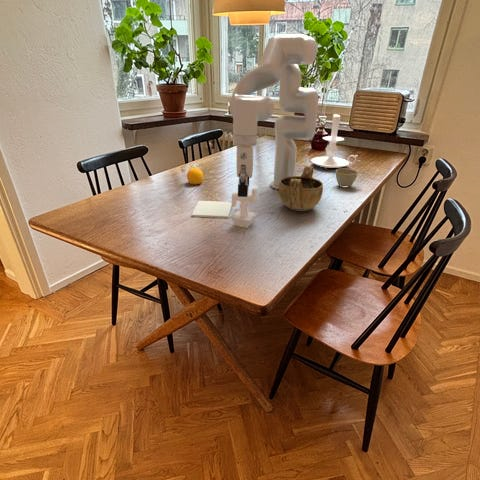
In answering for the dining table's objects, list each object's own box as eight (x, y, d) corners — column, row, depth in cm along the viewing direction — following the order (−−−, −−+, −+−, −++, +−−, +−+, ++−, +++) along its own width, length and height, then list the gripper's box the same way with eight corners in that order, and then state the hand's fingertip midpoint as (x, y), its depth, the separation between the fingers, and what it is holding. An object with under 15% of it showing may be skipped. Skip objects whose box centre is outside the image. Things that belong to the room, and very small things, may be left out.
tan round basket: (312, 223, 119) (317, 183, 112) (269, 214, 125) (271, 176, 118) (325, 202, 137) (330, 167, 130) (286, 195, 143) (289, 161, 136)
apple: (201, 186, 152) (200, 171, 149) (185, 185, 154) (183, 169, 150) (205, 181, 159) (205, 166, 156) (190, 180, 161) (189, 165, 157)
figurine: (236, 218, 122) (236, 179, 115) (259, 223, 118) (261, 183, 111) (227, 225, 116) (227, 185, 109) (251, 231, 113) (252, 190, 105)
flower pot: (356, 184, 157) (359, 169, 153) (353, 190, 149) (356, 175, 146) (335, 181, 161) (337, 167, 157) (331, 187, 153) (333, 172, 149)
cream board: (232, 203, 134) (232, 201, 134) (228, 218, 122) (228, 216, 122) (198, 202, 135) (198, 200, 135) (191, 216, 123) (191, 214, 123)
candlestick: (348, 176, 168) (358, 119, 155) (304, 168, 181) (310, 114, 167) (360, 167, 183) (370, 114, 170) (319, 160, 195) (325, 110, 182)
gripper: (255, 145, 95) (253, 201, 103) (257, 135, 110) (255, 184, 118) (230, 145, 95) (230, 200, 103) (235, 134, 111) (234, 183, 119)
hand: (243, 191), depth 111 cm, fingers open, 9 cm apart
